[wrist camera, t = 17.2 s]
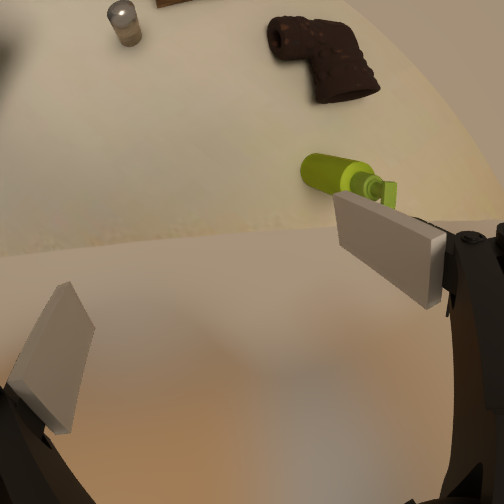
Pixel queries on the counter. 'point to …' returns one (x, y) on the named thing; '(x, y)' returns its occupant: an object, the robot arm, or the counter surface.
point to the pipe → (324, 56)
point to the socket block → (168, 2)
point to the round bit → (125, 22)
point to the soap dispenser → (347, 178)
